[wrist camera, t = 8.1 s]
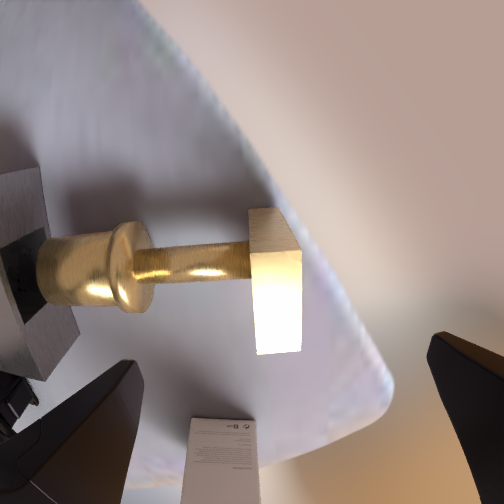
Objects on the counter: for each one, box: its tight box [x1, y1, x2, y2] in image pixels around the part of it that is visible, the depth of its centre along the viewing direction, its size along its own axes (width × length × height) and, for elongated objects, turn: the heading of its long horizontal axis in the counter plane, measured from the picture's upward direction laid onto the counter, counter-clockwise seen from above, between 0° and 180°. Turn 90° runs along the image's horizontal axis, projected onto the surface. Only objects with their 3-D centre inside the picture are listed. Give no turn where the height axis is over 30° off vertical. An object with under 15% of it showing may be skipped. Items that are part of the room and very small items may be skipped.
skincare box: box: [181, 418, 261, 504], centre depth 19 cm, size 8×7×16 cm
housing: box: [0, 167, 80, 382], centre depth 16 cm, size 8×14×6 cm, turn 4°
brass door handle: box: [36, 207, 302, 354], centre depth 15 cm, size 14×5×8 cm, turn 94°
